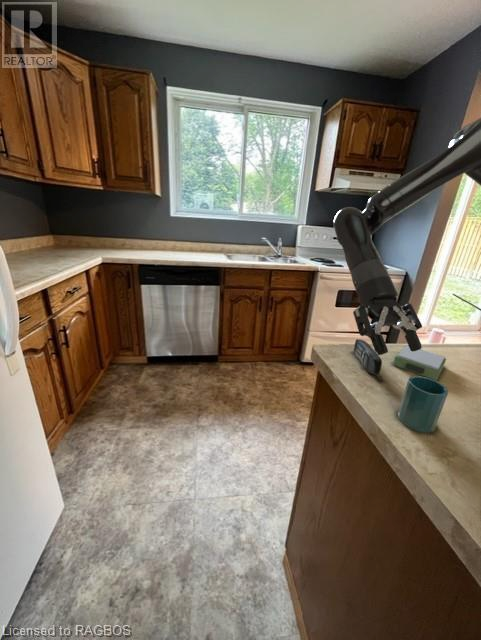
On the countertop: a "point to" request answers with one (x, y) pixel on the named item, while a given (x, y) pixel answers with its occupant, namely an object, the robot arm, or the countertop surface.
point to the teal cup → (422, 403)
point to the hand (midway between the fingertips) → (400, 352)
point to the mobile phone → (368, 357)
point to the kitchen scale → (420, 362)
